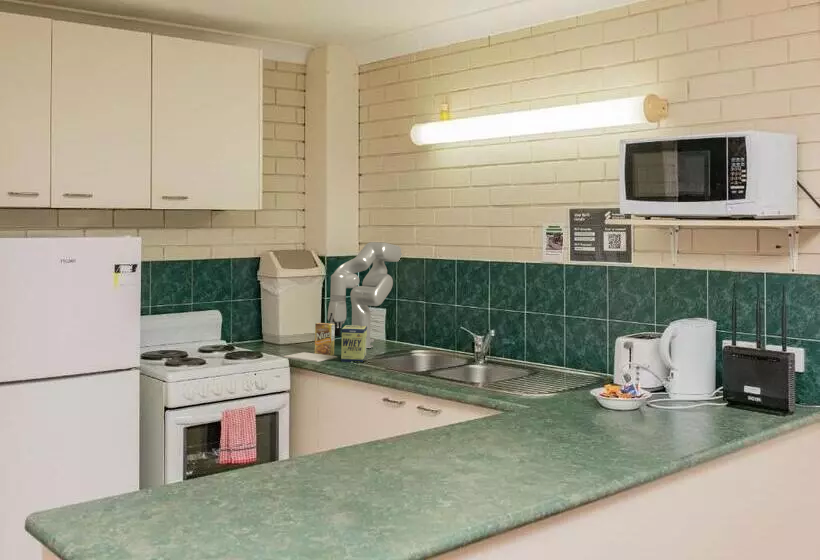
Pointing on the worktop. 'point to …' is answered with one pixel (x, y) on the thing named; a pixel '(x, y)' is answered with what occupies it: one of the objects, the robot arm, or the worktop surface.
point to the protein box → (353, 343)
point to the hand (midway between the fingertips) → (337, 335)
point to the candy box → (324, 338)
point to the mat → (310, 356)
